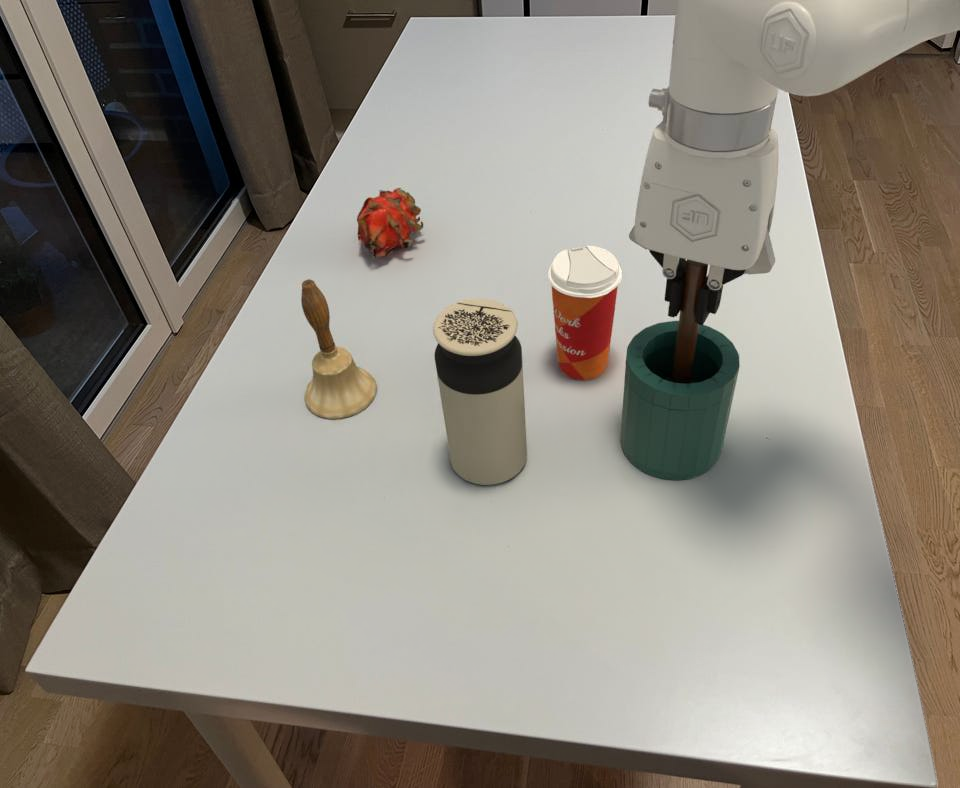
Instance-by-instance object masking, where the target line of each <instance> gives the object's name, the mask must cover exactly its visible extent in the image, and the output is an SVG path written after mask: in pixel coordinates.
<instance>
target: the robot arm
mask: <svg viewBox="0 0 960 788" xmlns="http://www.w3.org/2000/svg"><path fill="white" fill-rule="evenodd" d="M958 31H960V0H676V6H675V17H674V28H673V40H672V48H671V58H670V59H671V60H670V61H671V62H670V70H669V81H668V87H667V88H665V87H663V88H661V89H659V88H652V89H651V91H650V93H649V97H648V107H649V108H652V109H657V111H658V112H659V111H660V112H661V114H662V116H663V117H662V121H661V122H660V123H659V124H657V125H656V126H655V127H654V129H653V132H652V134H651V138H650V141H649V145H648V148H647V152H646V156H645V160H644V165H643V169H642V175H641V180H640V185H639V190H638V196H637V203H636V209H635V216H634V225H633V227H632V228H631V230H630V232H629V234H628V238H629V240H630V241H631V242H633V243H635V244H636V245H638V246H639V247H641V248H642V249H644V250H647V251H649V253H650V255H651V256H652V258H653V259H654V260H655V261H656V262H657V264H658V265H659V266H660V267H661V268H662V270H661V271H662V275H663V276H664V278H666V282H665V292H664V302H668V304H669V305H668V310H667V316H668V317H669V318H675V317H676V318H677V317H678V315H679V314H680V309H681V301H682V294H683V286H684V278H685V270H686V263H687V259H688V260H692V261H696V262H700V263H704V264H708V266H709V267H708V273H707V277H706V279H705V281H704V283H703V284H702V286H701V288H700V291H699V297H698V304H697V311H696V317H695V322H697V324H699V325H705V322H706V321H707V319H708V317H709V315H710V314H713V315H716V314H717V312H718V310H719V308H720V304H721V300H722V295H723V289H724V285H726V284H728V283H730V282H732V281H734V280H736V279H739V278H740V277H742V276H743V275H760V274H768V273H770V272H771V271H772V269H773V267H774V265H775V263H776V257H775V252H774V249H773V244H772V241H771V236H770V232H771V228H772V224H773V218H774V211H775V206H776V205H775V204H776V196H777V185H778V174H779V137H778V133H777V132H776V130H774V129H772V125H773V119H774V113H775V109H776V104H777V97H778V94H779V90H781V91H783V92H785V93H787V94H791V95H795V96H801V97H816V96H821V95H826V94H828V93H831V92H833V91H836V90H838V89H840V88H842V87H844V86H845V85H847V84H849V83H852V82H853V81H855V80H856V79H858V78H860V77H861V76H863V75H865V74H867V73H868V72H870V71H872V70H874V69H875V68H877V67H879V66H880V65H882V64H884V63H886V62H887V61H890V60H891V59H893V58H895V57H897V56H898V55H900V54H902V53H904V52H906V51H908V50H910V49H912V48H914V47H915V46H918V45H919V44H922V43H924V42H926V41H928V40H933V39H934V38H937V37H940V36H944V35H948V34H951V33H955V32H958Z"/></svg>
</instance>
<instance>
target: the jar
mask: <svg viewBox="0 0 960 788" xmlns="http://www.w3.org/2000/svg"><path fill="white" fill-rule="evenodd" d="M678 324H679V320H670V321H663V322H657V323H655V324H652V325H649V326H647V327H645V328H643V329H642V330H640V331H638V333H636V334H635V335H634V336H633V337H632V339H631V340H630V342H629V343H628V345H627V347H626V359H625V368H624V369H625V370H624V383H623V394H622V395H623V399H622V409H621V410H622V411H621V421H620V422H621V424H620V447H621V449H622V451H623V454H624V455H625V457H626V459H627V460H628V461H629V462H630V463H631V464H632V465H633V466H634V467H635V468H637V469H638V470H639V471H641V472H643V473H645V474H647V475H649V476H652V477H655V478H657V479H662V480H668V481H683V480H691V479H694V478H697V477H700V476H702V475H704V474H706V473H707V472H708V471H710V470H711V469H712V468H713V467H714V466H715V465H716V464H717V462H718V461H719V459H720V457H721V454H722V449H723V447H724V443H725V438H726V433H727V428H728V423H729V418H730V414H731V410H732V404H733V400H734V395H735V390H736V386H737V381H738V376H739V373H740V372H739V371H740V353H739V352H738V350H737V348H736V346H735V345H734V342H732V341H731V340H730V338H728V337H727V336H726V335H725V334H723V333H722V332H721V331H719V330H717V329H715V328H713V327H711V326H708V325H705V324H703V325H699V329H698V335H697V342H696V348H695V355H694V361H693V368H692V374H691V379H692V380H694V381H695V382H697V383H690V384H683V383H674V382H670V381H667V380H664V379H665V378H667V377H671V376H672V370H673V363H674V355H675V347H676V340H677V332H678Z"/></svg>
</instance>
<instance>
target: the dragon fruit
mask: <svg viewBox="0 0 960 788" xmlns="http://www.w3.org/2000/svg"><path fill="white" fill-rule="evenodd" d="M378 192H379V193H378V196H376V197H375V196H374V197H367V198H366V199H365V200H364V201H363V205H362V207H361V209H360V211H359V212H358V214H357V217H356V222H357V240H358V242H361V243H362V245H363V247H364V248H365V249H368V251H370V253H372V257H374V258H375V259H376V258H379V259H380V258H384V257H388V256H390V255H391V254H392V253H393V250H391V249H393V248H395V247H396V246H398V247H399V248H400V249H401V250H402V249H403V250H405V249H408V248H410V246H411V245H412V244H413V242H414V240H413V239H412V238H411V234H412V232H415V233H418V232H419V231H422V229H423V228H424V222H423V221H421V217H420V216H419V215H420V214H421V212H422V208H420V207H419V206H417V205H416V199H415V198H414V196H413V195H411V194H410V192H408V191H407V192H406V191H405V190H404V189H402V188H401V187H397V188H394V189H393V190H391V191H390V190H383V189H381V190H380V189H379V191H378ZM417 216H418V218H417ZM419 222H420V223H419ZM390 250H391V251H390Z"/></svg>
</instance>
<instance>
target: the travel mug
mask: <svg viewBox="0 0 960 788" xmlns="http://www.w3.org/2000/svg"><path fill="white" fill-rule="evenodd" d="M518 325H519V324H518V318H517V316H516V314H515V312H514V311H513V310H512V309H511V308H510V307H509V306H507V305H505V304H504V303H501V302H499V301H497V300H493V299H488V298H471V299H465V300H464V299H463V300H460V301H458V302H456V303H453V304H451V305H449V306H448V307H445V308H444V309H443V310H442V311H441V312H439V314H438V315H437V317H436V318H435V320H434V323H433V326H432V334H433V337H434V339H435V340H436V342H437V345H436V347H435V348H434V349H435V350H434V356H433V357H434V364H435V370H436V375H437V383H438V388H439V394H440V400H441V408H442V414H443V420H444V421H443V422H444V426H445V432H446V434H445V435H446V439H447V445H448V446H447V447H448V452H449V457H450V465H451V466H452V468H453V470H454V472H455V473H456V474H457V475H458V476H459V477H461V478H462V479H463V480H465V481H467V482H470V483H472V484H476V485H480V486H481V485H483V486H491V485H492V486H493V485H497V484H501V483H504V482H507V481H509V480H510V479H512V478H514V477H515V476H516V475H518V474H519V473H520V472H521V471H522V469H523V468H524V467H525V465H526V463H527V458H528V443H527V425H526V406H525V387H524V369H523V367H524V366H523V350H522V344H521V342H520V340H519V338H518V336H516V335H517V332H518Z"/></svg>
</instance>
